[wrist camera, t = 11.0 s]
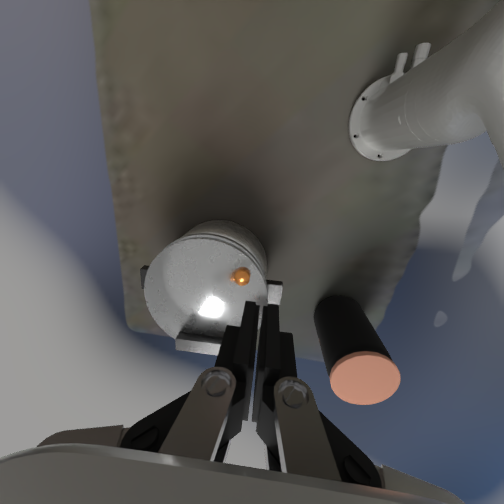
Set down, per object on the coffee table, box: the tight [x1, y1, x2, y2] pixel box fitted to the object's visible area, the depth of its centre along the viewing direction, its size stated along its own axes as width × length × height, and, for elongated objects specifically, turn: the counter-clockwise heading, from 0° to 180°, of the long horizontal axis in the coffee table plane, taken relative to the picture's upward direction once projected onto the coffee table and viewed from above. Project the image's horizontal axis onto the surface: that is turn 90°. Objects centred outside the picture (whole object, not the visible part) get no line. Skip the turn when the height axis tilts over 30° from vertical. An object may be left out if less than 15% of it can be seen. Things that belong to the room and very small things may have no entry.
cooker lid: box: [144, 237, 268, 355], centre depth 39 cm, size 21×21×3 cm
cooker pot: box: [140, 220, 283, 305], centre depth 46 cm, size 21×26×12 cm
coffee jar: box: [314, 296, 400, 405], centre depth 46 cm, size 11×11×18 cm
